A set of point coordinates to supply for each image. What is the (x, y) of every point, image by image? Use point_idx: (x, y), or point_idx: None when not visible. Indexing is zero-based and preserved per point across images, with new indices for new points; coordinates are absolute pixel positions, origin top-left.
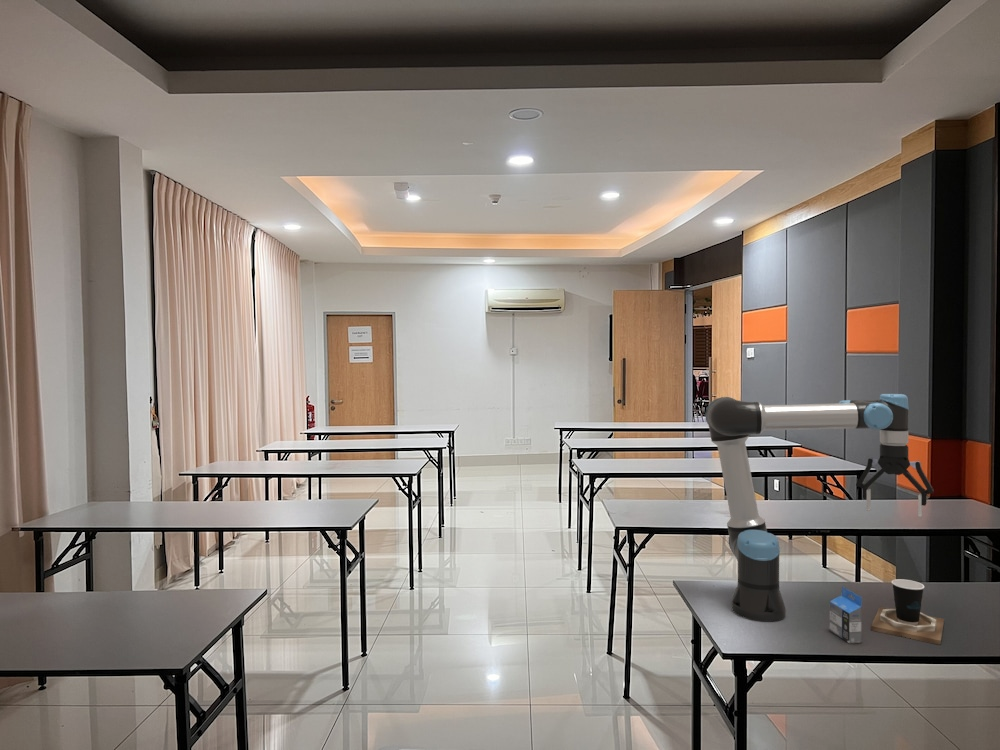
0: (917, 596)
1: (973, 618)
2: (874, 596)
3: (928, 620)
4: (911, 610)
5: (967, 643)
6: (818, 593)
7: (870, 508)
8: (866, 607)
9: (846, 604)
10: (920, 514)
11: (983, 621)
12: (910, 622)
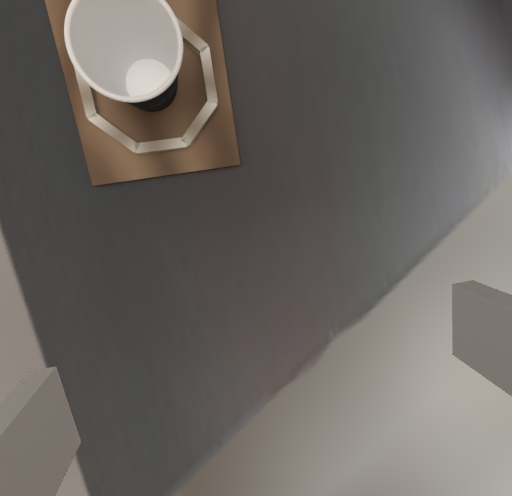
0: (90, 20)
1: (57, 276)
2: (278, 265)
3: (109, 122)
4: (122, 37)
5: (4, 66)
6: (384, 186)
7: (459, 354)
8: (270, 166)
9: None
10: (23, 385)
11: (32, 271)
12: (135, 58)
